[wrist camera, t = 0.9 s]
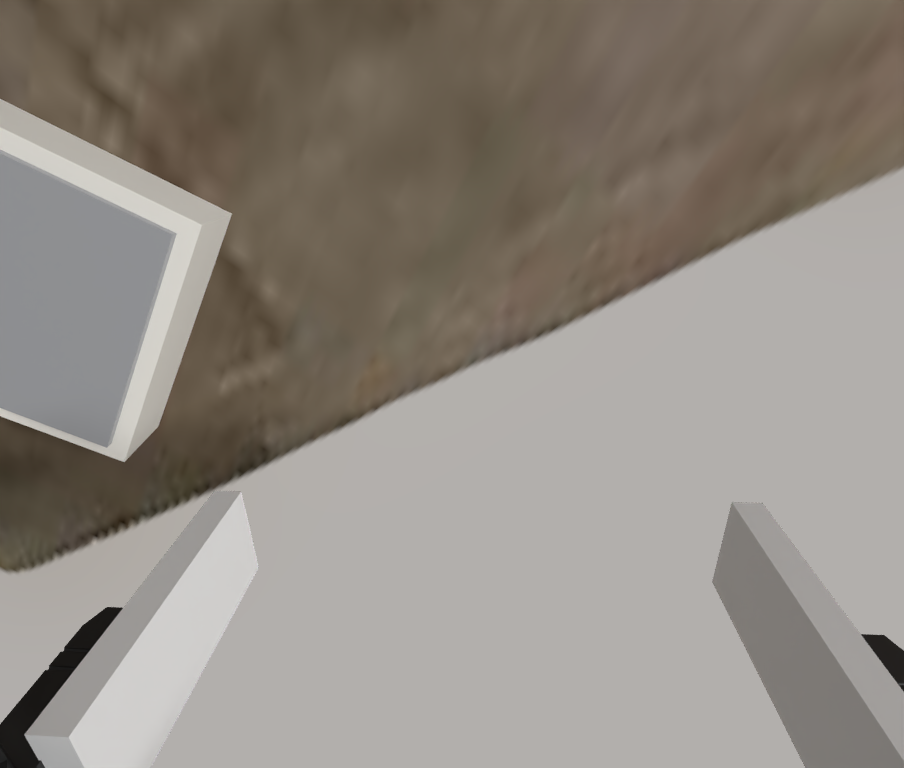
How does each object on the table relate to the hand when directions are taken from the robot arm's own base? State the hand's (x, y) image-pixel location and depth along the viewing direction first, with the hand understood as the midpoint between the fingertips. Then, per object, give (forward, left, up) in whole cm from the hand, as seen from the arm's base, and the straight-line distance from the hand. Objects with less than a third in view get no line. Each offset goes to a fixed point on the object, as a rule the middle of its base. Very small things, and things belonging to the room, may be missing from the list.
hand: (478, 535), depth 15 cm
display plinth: (+9, -22, -22) cm, 32 cm away
